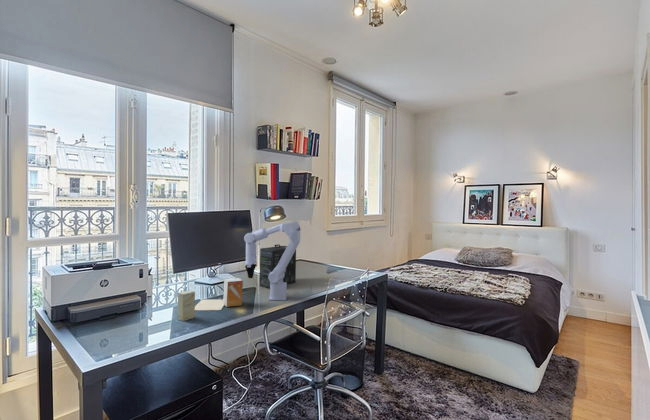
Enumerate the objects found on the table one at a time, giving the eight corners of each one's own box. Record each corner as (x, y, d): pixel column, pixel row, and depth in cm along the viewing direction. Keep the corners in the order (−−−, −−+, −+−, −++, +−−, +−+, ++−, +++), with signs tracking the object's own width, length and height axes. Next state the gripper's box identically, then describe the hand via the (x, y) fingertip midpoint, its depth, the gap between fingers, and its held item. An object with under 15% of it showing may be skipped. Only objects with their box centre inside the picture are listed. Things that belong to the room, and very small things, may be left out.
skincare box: (183, 321, 147) (183, 294, 147) (177, 319, 150) (177, 292, 149) (195, 317, 153) (195, 291, 152) (189, 315, 155) (189, 289, 155)
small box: (226, 307, 166) (227, 281, 166) (222, 303, 172) (223, 278, 171) (242, 305, 171) (243, 280, 171) (238, 301, 176) (239, 277, 176)
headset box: (283, 279, 226) (283, 242, 226) (296, 282, 219) (296, 243, 219) (258, 286, 208) (259, 245, 207) (272, 289, 201) (272, 247, 200)
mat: (228, 299, 179) (228, 299, 179) (220, 310, 163) (220, 309, 163) (201, 300, 178) (201, 299, 178) (191, 310, 161) (191, 310, 161)
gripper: (245, 251, 194) (245, 274, 194) (241, 256, 180) (241, 280, 180) (257, 251, 195) (257, 274, 195) (254, 256, 180) (254, 280, 181)
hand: (250, 277), depth 188 cm, fingers closed
